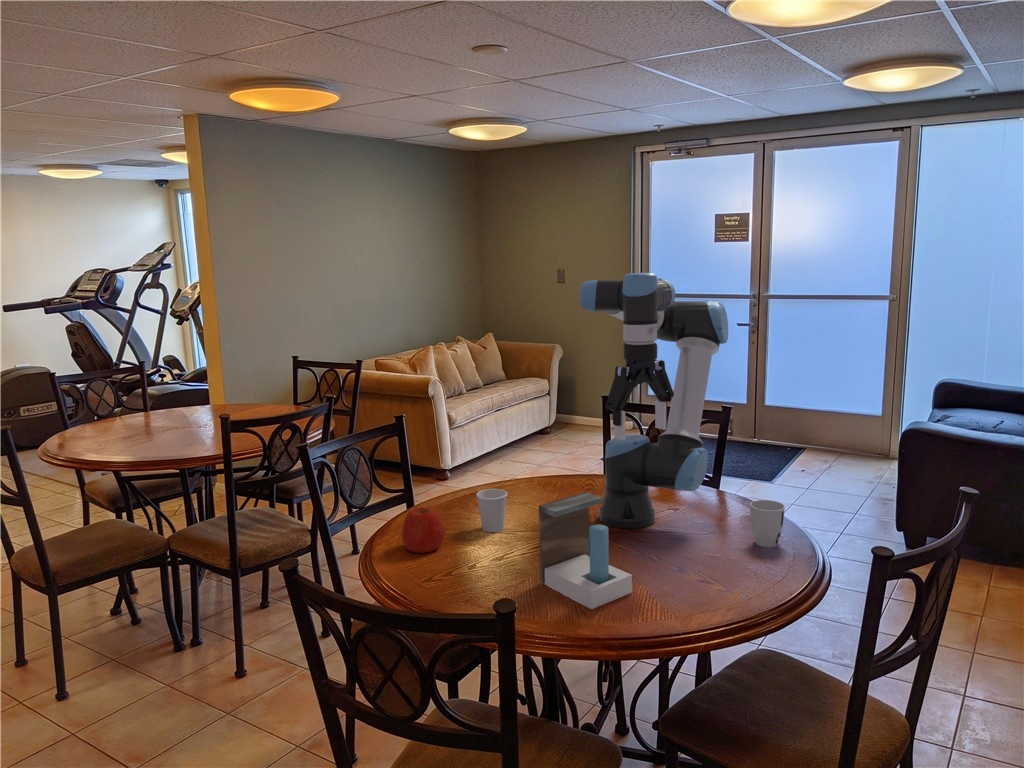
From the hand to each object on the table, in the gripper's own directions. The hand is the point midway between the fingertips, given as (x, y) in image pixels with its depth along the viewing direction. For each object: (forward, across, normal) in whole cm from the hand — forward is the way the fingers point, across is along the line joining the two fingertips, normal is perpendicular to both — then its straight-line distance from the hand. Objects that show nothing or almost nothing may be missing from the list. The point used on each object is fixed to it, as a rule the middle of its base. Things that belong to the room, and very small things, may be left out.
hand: (640, 433), depth 170 cm
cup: (+32, +31, -13) cm, 46 cm away
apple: (+31, -35, +42) cm, 63 cm away
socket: (+31, -20, -3) cm, 37 cm away
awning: (+31, -19, +4) cm, 36 cm away
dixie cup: (+31, -14, +41) cm, 54 cm away
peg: (+31, -20, -6) cm, 37 cm away
